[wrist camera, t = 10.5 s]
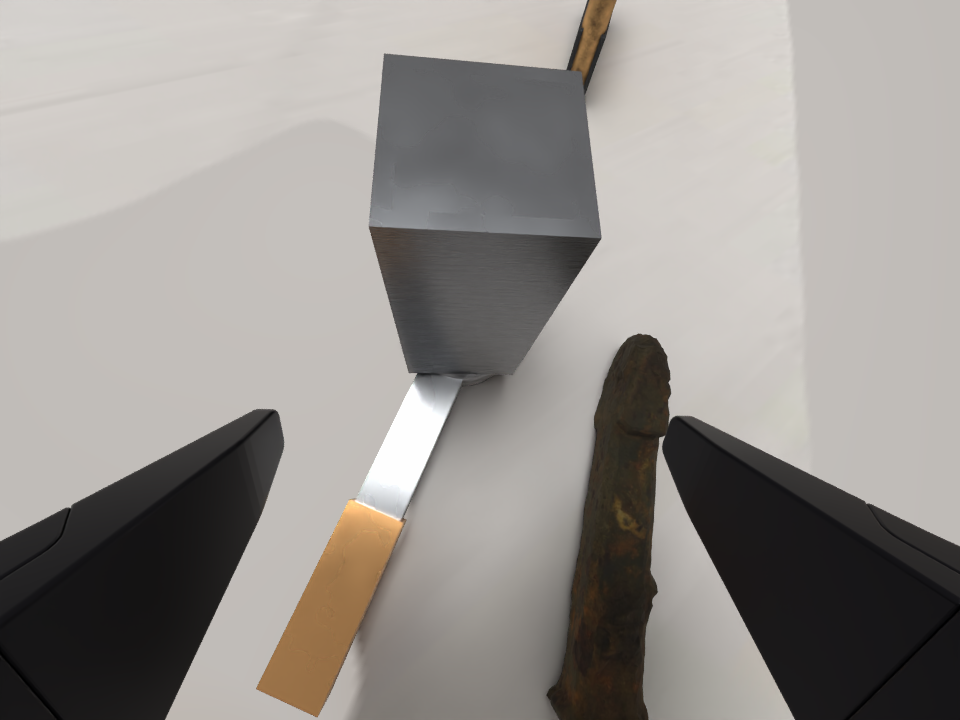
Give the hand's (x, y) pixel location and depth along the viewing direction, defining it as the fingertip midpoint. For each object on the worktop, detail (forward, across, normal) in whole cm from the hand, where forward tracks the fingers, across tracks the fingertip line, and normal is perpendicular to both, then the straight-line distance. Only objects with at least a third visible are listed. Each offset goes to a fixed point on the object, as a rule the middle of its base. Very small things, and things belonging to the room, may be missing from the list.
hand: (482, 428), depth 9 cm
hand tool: (+8, -8, +11) cm, 16 cm away
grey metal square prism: (+13, 0, +3) cm, 14 cm away
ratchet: (+9, +3, +10) cm, 14 cm away
